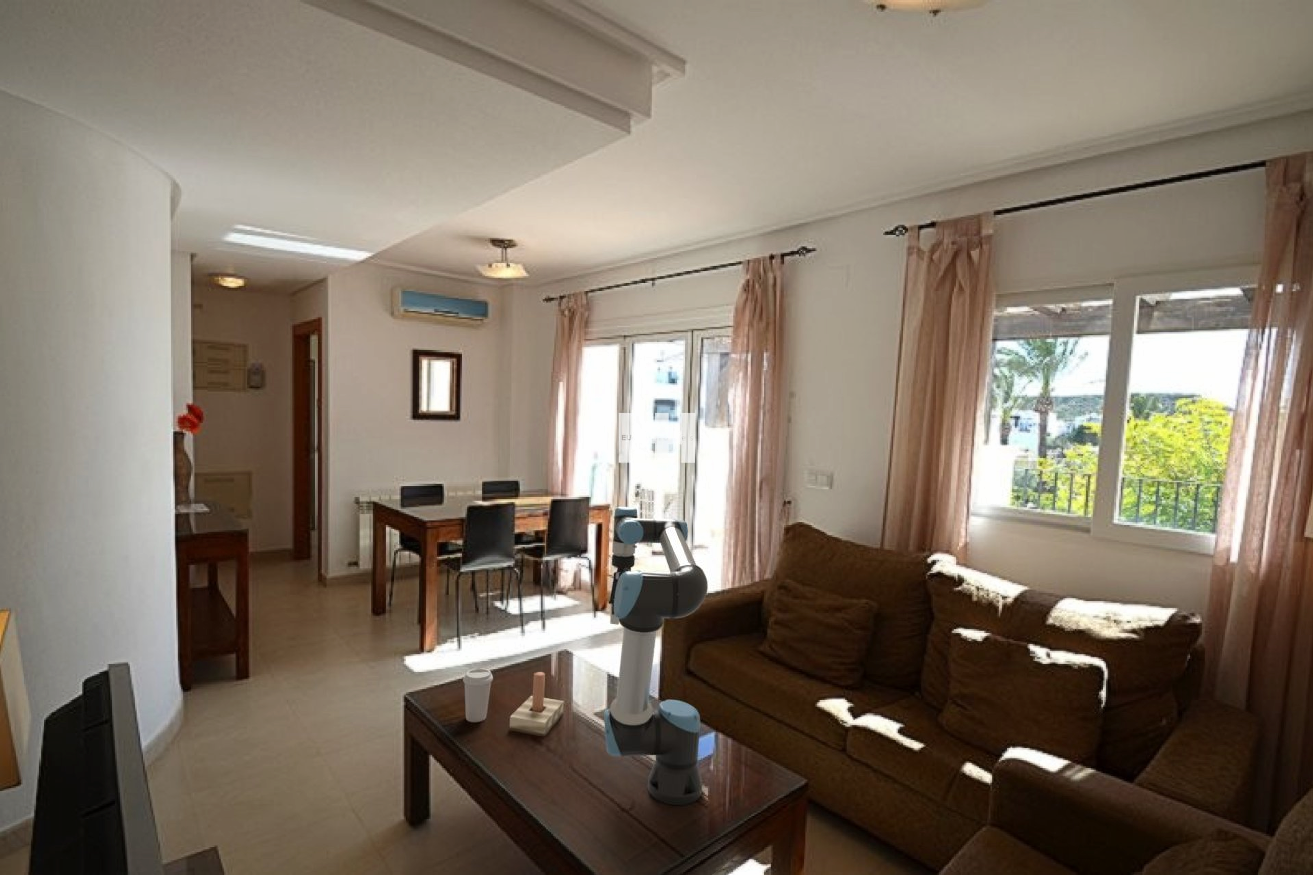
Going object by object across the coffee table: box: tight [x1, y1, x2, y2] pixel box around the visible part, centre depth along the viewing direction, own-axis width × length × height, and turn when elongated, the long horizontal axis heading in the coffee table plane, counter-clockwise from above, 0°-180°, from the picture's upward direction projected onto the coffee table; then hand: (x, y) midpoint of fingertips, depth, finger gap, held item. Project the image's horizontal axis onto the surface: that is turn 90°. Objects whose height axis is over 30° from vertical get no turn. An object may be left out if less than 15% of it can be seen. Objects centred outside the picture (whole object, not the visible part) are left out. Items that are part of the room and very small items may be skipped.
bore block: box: [509, 695, 565, 738], centre depth 207 cm, size 16×12×4 cm
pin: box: [532, 671, 546, 713], centre depth 207 cm, size 4×4×15 cm
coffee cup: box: [462, 667, 494, 723], centre depth 208 cm, size 10×10×15 cm
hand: (619, 617), depth 208 cm, fingers open, 13 cm apart
